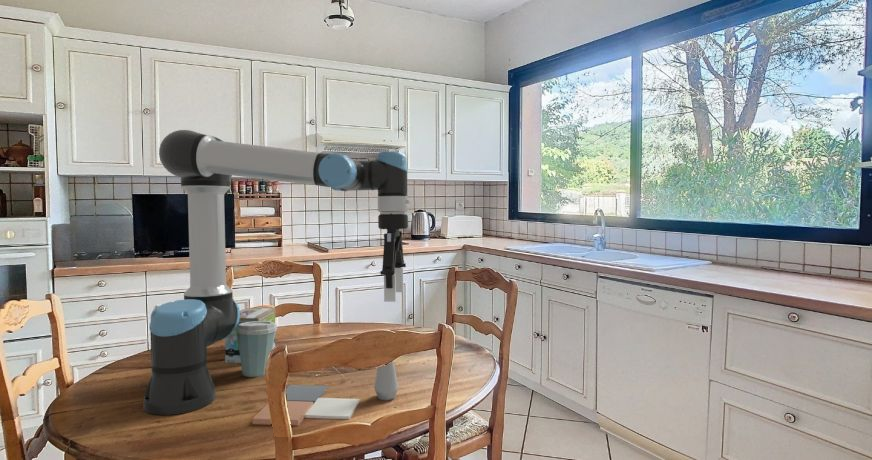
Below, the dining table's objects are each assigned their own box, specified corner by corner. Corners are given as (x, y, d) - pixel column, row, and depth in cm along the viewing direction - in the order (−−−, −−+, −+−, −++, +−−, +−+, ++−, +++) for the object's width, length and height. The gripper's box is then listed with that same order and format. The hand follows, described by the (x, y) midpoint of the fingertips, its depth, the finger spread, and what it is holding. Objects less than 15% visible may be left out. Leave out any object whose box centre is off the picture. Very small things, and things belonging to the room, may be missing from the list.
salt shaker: (394, 402, 118) (394, 348, 117) (371, 400, 119) (371, 347, 118) (401, 393, 123) (400, 342, 123) (379, 392, 125) (378, 340, 124)
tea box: (258, 368, 144) (258, 317, 143) (224, 367, 144) (223, 317, 143) (276, 352, 159) (275, 307, 158) (244, 352, 159) (244, 306, 158)
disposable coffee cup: (235, 372, 139) (235, 319, 139) (275, 367, 144) (275, 316, 143) (236, 384, 130) (236, 327, 129) (279, 379, 134) (279, 324, 133)
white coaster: (304, 420, 109) (304, 414, 109) (318, 402, 119) (318, 397, 119) (349, 421, 109) (349, 416, 109) (359, 403, 119) (359, 398, 119)
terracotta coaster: (252, 424, 106) (252, 418, 106) (271, 405, 116) (271, 400, 116) (298, 425, 105) (298, 419, 105) (313, 406, 115) (313, 401, 115)
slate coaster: (274, 404, 118) (274, 399, 118) (289, 389, 128) (289, 384, 128) (315, 405, 117) (315, 400, 117) (327, 390, 127) (327, 385, 127)
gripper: (400, 213, 113) (402, 305, 114) (413, 212, 138) (414, 288, 139) (368, 214, 114) (370, 305, 115) (386, 213, 139) (387, 288, 139)
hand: (394, 296), depth 127 cm, fingers open, 13 cm apart
